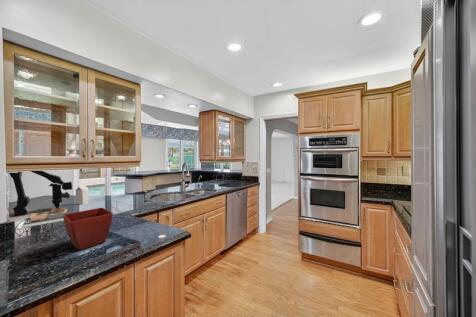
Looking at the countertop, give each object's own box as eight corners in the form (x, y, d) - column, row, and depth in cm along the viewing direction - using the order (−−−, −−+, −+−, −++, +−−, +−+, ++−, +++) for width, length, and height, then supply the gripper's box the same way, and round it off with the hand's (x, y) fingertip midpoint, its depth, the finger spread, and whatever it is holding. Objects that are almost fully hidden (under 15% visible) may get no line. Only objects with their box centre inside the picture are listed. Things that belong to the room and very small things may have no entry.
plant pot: (102, 233, 128) (102, 206, 127) (114, 241, 116) (113, 212, 115) (63, 244, 113) (62, 214, 112) (72, 255, 101) (70, 222, 100)
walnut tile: (50, 214, 162) (50, 211, 162) (51, 211, 169) (51, 208, 169) (64, 212, 167) (63, 209, 167) (63, 209, 174) (63, 207, 174)
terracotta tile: (30, 222, 146) (30, 220, 146) (32, 219, 153) (32, 216, 153) (45, 220, 151) (45, 217, 151) (46, 216, 158) (46, 214, 158)
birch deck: (29, 220, 152) (29, 218, 152) (31, 215, 163) (31, 213, 163) (67, 213, 167) (67, 212, 167) (66, 210, 177) (66, 208, 177)
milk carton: (89, 203, 198) (88, 184, 197) (82, 205, 191) (82, 185, 190) (82, 203, 199) (81, 184, 198) (76, 205, 192) (75, 185, 191)
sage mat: (21, 228, 137) (21, 227, 137) (25, 219, 153) (25, 219, 153) (71, 219, 154) (71, 218, 154) (70, 212, 170) (70, 212, 170)
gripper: (69, 191, 170) (70, 209, 171) (68, 188, 184) (69, 205, 185) (51, 193, 163) (52, 212, 163) (52, 189, 177) (52, 207, 177)
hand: (57, 208), depth 172 cm, fingers closed
